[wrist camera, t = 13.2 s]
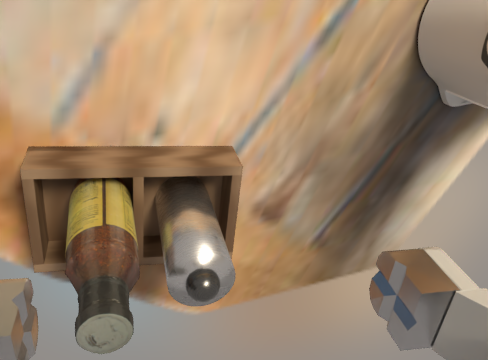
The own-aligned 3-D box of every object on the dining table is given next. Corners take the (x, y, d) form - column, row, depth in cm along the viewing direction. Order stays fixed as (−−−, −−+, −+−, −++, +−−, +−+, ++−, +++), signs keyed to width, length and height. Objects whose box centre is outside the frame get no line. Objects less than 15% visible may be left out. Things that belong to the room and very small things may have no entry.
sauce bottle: (68, 216, 49) (44, 368, 32) (73, 165, 47) (50, 302, 30) (130, 220, 51) (137, 365, 35) (138, 172, 49) (150, 304, 32)
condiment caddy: (232, 146, 51) (242, 166, 47) (223, 233, 57) (231, 258, 52) (28, 146, 46) (20, 169, 41) (41, 243, 51) (34, 272, 47)
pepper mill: (210, 174, 51) (244, 265, 37) (206, 219, 54) (236, 318, 40) (155, 175, 49) (171, 271, 36) (154, 221, 52) (168, 326, 39)
